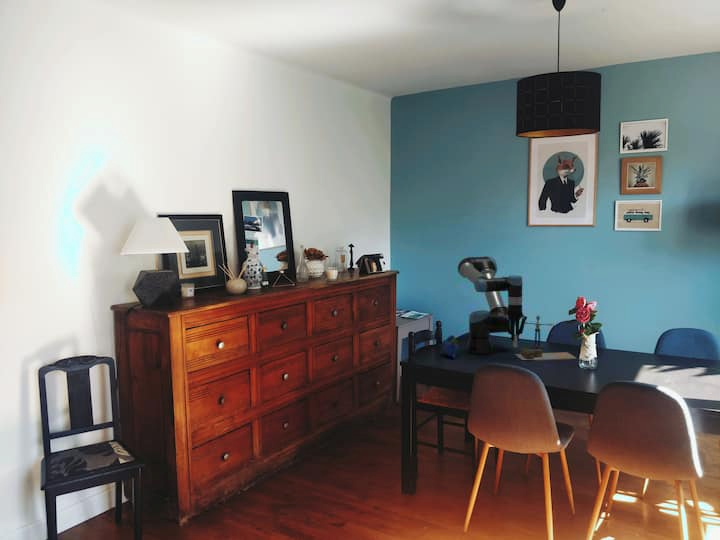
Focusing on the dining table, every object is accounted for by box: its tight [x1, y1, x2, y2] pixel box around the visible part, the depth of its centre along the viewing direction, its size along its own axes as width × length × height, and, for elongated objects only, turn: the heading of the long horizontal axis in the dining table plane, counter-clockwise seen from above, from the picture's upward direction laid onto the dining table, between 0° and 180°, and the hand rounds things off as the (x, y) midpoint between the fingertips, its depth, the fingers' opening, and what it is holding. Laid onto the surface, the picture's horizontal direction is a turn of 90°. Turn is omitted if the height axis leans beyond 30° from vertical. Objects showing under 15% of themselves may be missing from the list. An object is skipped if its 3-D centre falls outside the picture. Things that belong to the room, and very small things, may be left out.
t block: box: [520, 347, 543, 359], centre depth 310 cm, size 10×10×4 cm
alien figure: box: [524, 315, 555, 349], centre depth 331 cm, size 20×5×19 cm, turn 62°
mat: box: [514, 351, 577, 361], centre depth 311 cm, size 30×12×1 cm, turn 93°
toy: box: [440, 334, 460, 359], centre depth 317 cm, size 11×10×15 cm
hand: (515, 346), depth 309 cm, fingers closed
